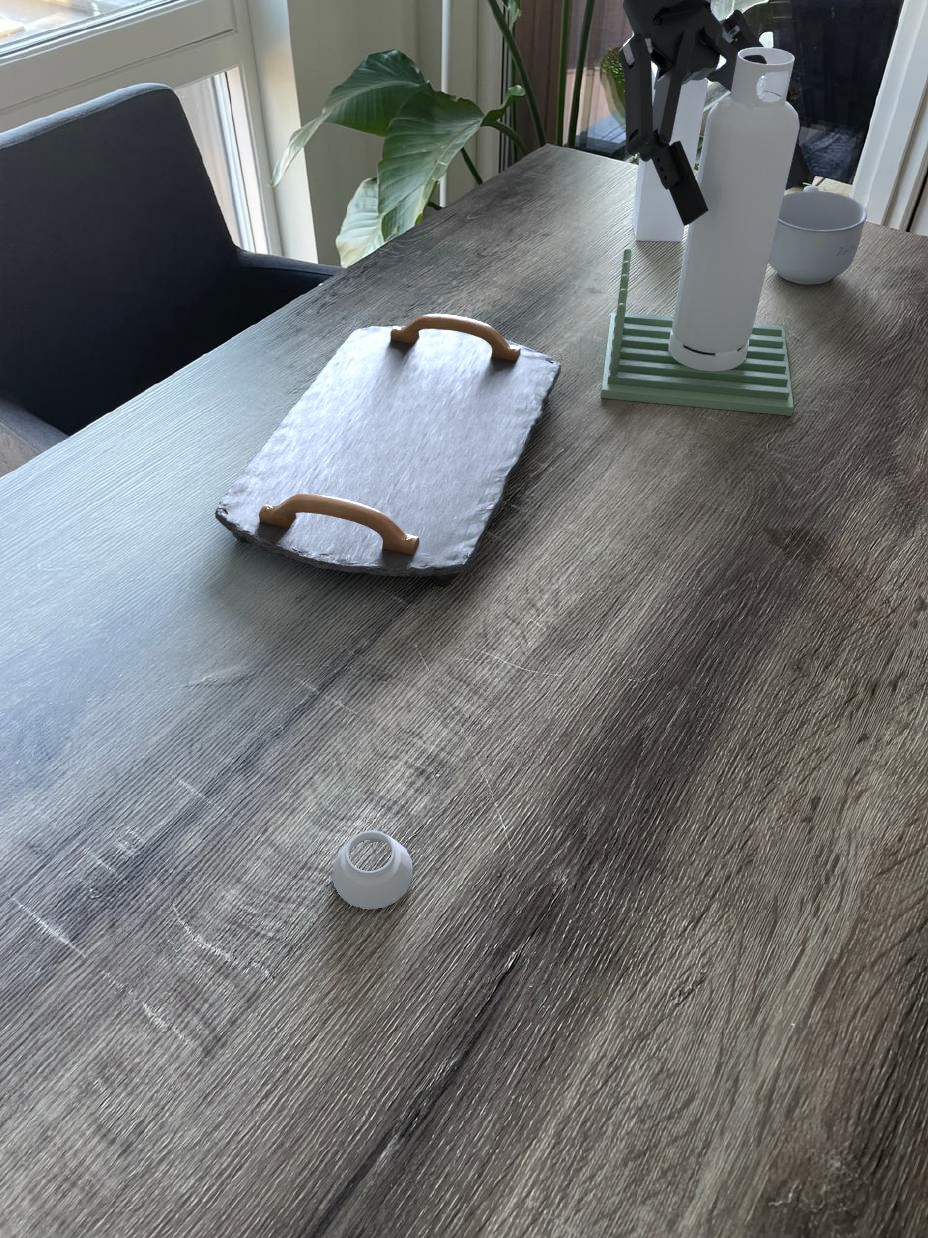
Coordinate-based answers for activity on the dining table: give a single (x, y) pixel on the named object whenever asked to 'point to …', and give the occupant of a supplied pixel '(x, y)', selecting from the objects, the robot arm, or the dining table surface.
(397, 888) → the grey flared ring
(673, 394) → the rack
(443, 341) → the serving tray
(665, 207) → the milk
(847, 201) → the teacup
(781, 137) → the bottle
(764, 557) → the dining table surface
